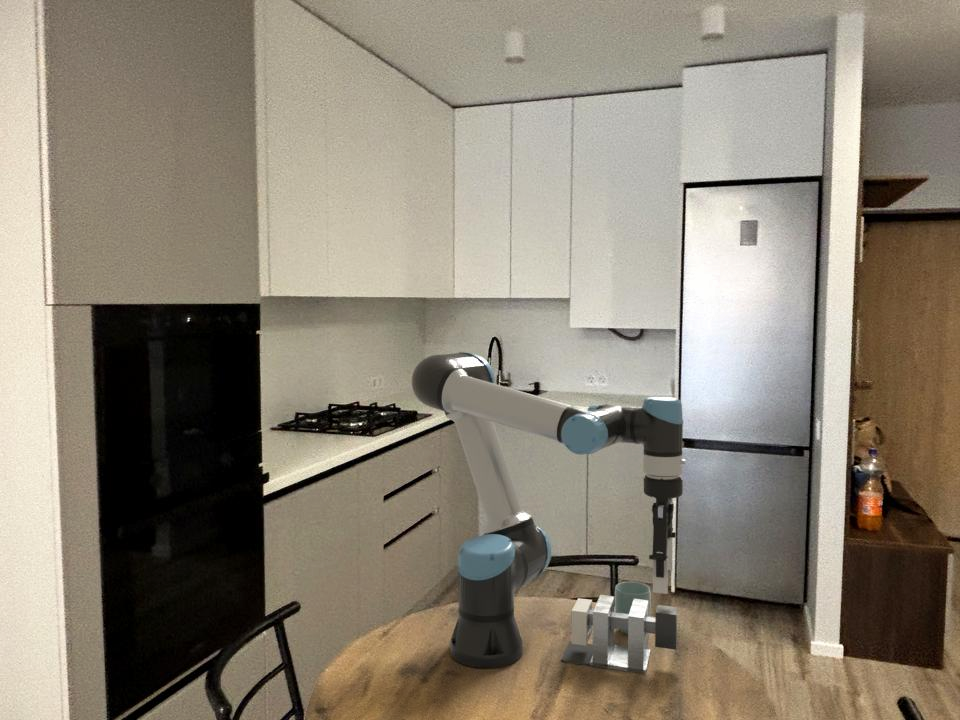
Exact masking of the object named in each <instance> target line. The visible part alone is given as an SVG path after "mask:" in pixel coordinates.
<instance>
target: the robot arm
mask: <svg viewBox="0 0 960 720" xmlns="http://www.w3.org/2000/svg"><path fill="white" fill-rule="evenodd" d="M411 387H412V391H413V393H414V394H415V397H416V398H417V399H418V401H420V402H421V403H422V404H423V405H425V406H427V407H429V408H432V409H436V410H439V411H442V412H444V415H445V417H446V418H447V419H449V420H451V421H453V422H454V424H455V427H456V431H457V434H458V437H459V439H460V442H461V446H462V449H463V452H464V456H465V459H466V462H467V465H468V467H469V470H470V475H471V477H472V480H473V484H474V486H475V489H476V492H477V497H478V498H479V502H480V506H481V509H482V510H483V513H484V516H485V517H484V518H485V520H486V525H485V527H484V529H483V533H482V535H476V536H472V537H470V538H468V539H466V541H463V543H462V544H461V546H460V547H459V551H458V559H457V565H456V566H457V577H458V578H457V579H458V581H457V583H458V587H457V588H458V590H457V591H458V601H457V602H458V604H457V605H458V617H457V620H456V623H455V626H454V628H453V632H452V635H451V639H450V641H449V642H450V645H449V646H450V649H449V650H450V656H451V657H452V658H453V659H454V660H455V661H456V662H458V663H460V664H462V665H464V666H466V667H467V666H468V667H470V668H471V667H472V668H477V669H478V668H479V669H494V668H502V667H505V666H509V665H512V664H514V663H515V662H516V661H518V660H520V658H521V657H522V655H523V639H522V637H521V634H520V630H519V627H518V624H517V621H516V617H515V591H517V590H519V589H520V588H522V587H524V586H525V585H526V584H528V583H529V582H532V581H534V580H536V579H537V578H538V577H540V576H541V574H542V573H544V572H545V570H546V569H547V568H548V566H549V564H550V561H551V559H552V545H551V542H550V539H549V536H548V535H547V533H546V532H545V531H544V530H543V529H541V528H540V527H539V526H538V525H535V524H536V523H535V522H534V519H533V516H532V515H531V514H530V513H528V512H526V511H525V510H523V507H522V504H521V501H520V497H519V495H518V491H517V488H516V485H515V483H514V480H513V476H512V474H511V473H512V472H511V471H510V467H509V465H508V461H507V458H506V456H505V453H504V450H503V449H504V448H503V446H502V443H501V440H500V436H499V434H498V432H497V428H496V424H500V425H503V426H506V427H508V428H512V429H516V430H518V431H522V432H525V433H528V434H532V435H534V436H538V437H540V438H544V439H546V440H550V441H554V442H557V443H561V444H563V445H564V446H565V447H566V449H567V450H569V452H570V453H573V454H576V455H591V454H594V453H596V452H599V451H600V450H602V449H605V448H607V447H610V446H612V445H616V444H619V443H623V444H624V443H625V444H634V445H635V444H637V445H640V444H641V445H643V453H642V454H643V455H642V457H643V460H642V462H643V463H642V466H643V467H642V468H643V469H642V471H643V473H644V474H645V475H644V476H643V493H644V495H645V496H647V497H650V498H655V501H653V502H652V506H651V512H652V526H653V527H652V528H653V530H652V531H653V533H652V534H653V536H652V554H649V555H648V559H649V560H652V593H654V594H655V593H657V594H664V595H666V594H667V595H668V593H669V591H668V590H669V588H668V587H669V586H668V585H669V581H668V580H669V576H668V575H669V571H671V572H672V571H673V539H675V538H676V534H677V532H673V531H674V528H673V518H674V517H673V516H674V509H675V505H674V503H672V499H676V498H679V497H681V496H682V495H683V491H684V490H683V485H684V484H683V477H682V474H683V465H686V463H687V461H686V459H684V458H683V437H684V436H683V434H684V433H683V430H684V429H683V426H684V425H683V424H684V419H683V404H682V402H681V400H680V399H679V398H676V397H672V396H671V397H670V396H650V397H649V396H648V397H646V398H644V399H643V403H642V406H629V405H616V404H615V405H614V404H613V405H612V404H608V403H604V404H592V405H590V406H589V407H588V408H587V409H583V408H580V407H577V406H572V405H570V404H566V403H563V402H559V401H556V400H552V399H549V398H546V397H542V396H538V395H534V394H531V393H527V392H526V391H525V392H524V391H522V390H518V389H514V388H511V387H506V386H503V385H500V384H496V383H495V374H494V370H493V368H492V366H491V364H490V363H489V362H488V361H487V359H486V358H484V357H482V356H481V355H479V354H476V353H473V352H466V351H465V352H464V351H463V352H462V351H461V352H456V353H447V354H433V355H432V354H431V355H430V356H427V357H425V358H424V359H422V360H421V361H420V362H419V363H418V364H417V365H416V366H415V368H414V370H413V373H412V376H411ZM495 423H496V424H495ZM682 458H683V459H682Z"/></svg>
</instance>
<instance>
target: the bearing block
mask: <svg viewBox="0 0 960 720" xmlns="http://www.w3.org/2000/svg"><path fill="white" fill-rule="evenodd" d="M592 610H593V626H592V644H593V656H592V659H591V661H590V665H589V666H590V667H593V668H600V669H601V668H602V669H609V670H614V671H615V670H616V671H622V672H627V673H628V672H630V673H636V674H637V673H638V674H641V675H642V674H643V675H647V672H648V666H649V663H650V657H651V649H649V633H645V619H646V616H648V600H641V599H634V600H633V603H632V606H631V609H630V612H629V616H628V634H627V636H628V637H627V646H626V645H621V644H615V629H613V628H610V614H611V612H615V595H614V596H613V595H606V594H605V595H604V594H600V595H599V597H598V599H597V601H596V604H595V606H594V609H592Z"/></svg>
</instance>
